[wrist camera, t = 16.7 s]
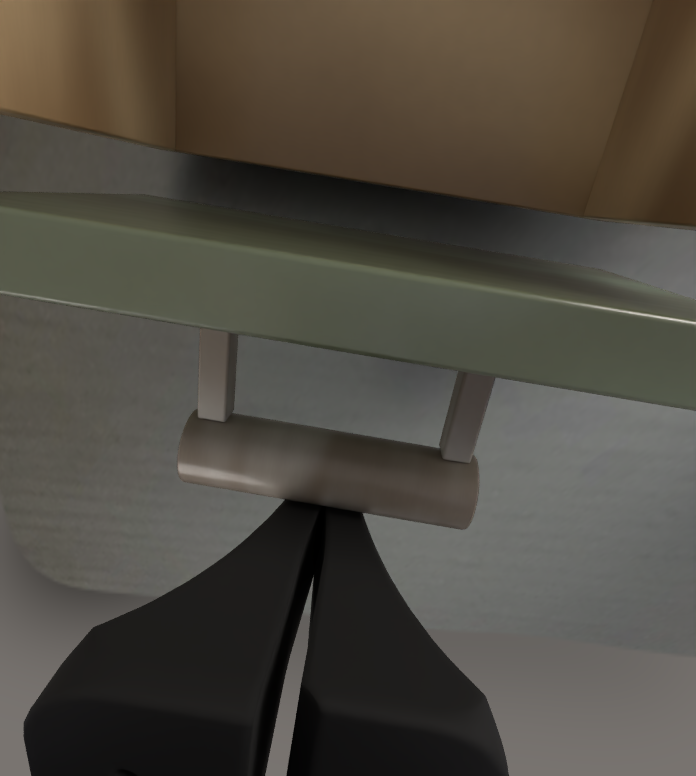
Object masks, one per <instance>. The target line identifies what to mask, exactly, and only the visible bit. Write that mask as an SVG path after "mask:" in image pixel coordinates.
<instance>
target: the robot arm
mask: <svg viewBox="0 0 696 776" xmlns="http://www.w3.org/2000/svg"><path fill="white" fill-rule="evenodd" d="M313 576H314V580H313V591H312V603H311V615H310V627H309V639H308V649H307V655H306V660H305V666H304V672H303V677H302V682H301V688H300V695H299V701H298V707H297V713H296V720H295V726H294V732H293V738H292V744H291V751H290V757H289V763H288V770H287V776H509V774H508V766H507V762H506V756H505V752H504V749H503V745H502V742H501V738H500V735H499V732H498V729H497V726H496V723H495V720H494V718H493V715H492V712H491V709H490V707H489V704H488V701H487V699H486V697H485V695H484V694H483V693H482V692H481V691H480V690H479V689H478V688H477V687H476V686H475V685H474V684H473V683H472V682H471V681H470V680H469V679H468V678H467V677H466V676H465V675H464V674H463V673H462V672H461V671H460V670H459V669H458V668H457V667H456V666H455V664H454V663H453V662H452V661H451V660H450V659H449V658H448V657H447V656H446V655H445V654H444V652H443V651H442V650H441V649H440V648H439V647H438V645H437V644H436V643H435V642H434V641H433V639H432V638H431V637H430V635H429V634H428V633H427V631H426V630H425V629H424V627H423V626H422V625H421V623H420V622H419V621H418V619H417V618H416V617H415V615H414V614H413V613H412V611H411V610H410V608H409V607H408V605H407V604H406V602H405V601H404V599H403V597H402V596H401V594H400V593H399V591H398V589H397V588H396V586H395V584H394V583H393V581H392V579H391V577H390V576H389V574H388V572H387V570H386V568H385V566H384V564H383V562H382V560H381V558H380V556H379V554H378V552H377V550H376V547H375V545H374V543H373V540H372V538H371V535H370V533H369V530H368V527H367V525H366V522H365V519H364V516H363V513H362V512H356V511H350V510H344V509H339V508H333V507H327V506H321V505H315V504H309V503H304V502H298V501H292V500H286V499H285V500H284V502H283V503H282V504H281V505H280V506H279V507H278V508H277V509H276V510H275V511H274V513H273V514H272V515H271V516H270V517H269V518H268V519H267V520H266V521H265V522H264V523H263V524H262V525H261V526H259V527H258V528H257V529H256V530H255V531H254V532H253V533H252V534H251V535H250V536H249V537H248V538H247V539H245V540H244V541H243V542H242V543H241V544H240V545H238V546H237V547H236V548H235V549H233V550H232V551H231V552H230V553H228V554H227V555H226V556H224V557H223V558H222V559H220V560H219V561H218V562H216V563H215V564H213V565H212V566H210V567H209V568H207V569H206V570H205V571H203V572H202V573H200V574H199V575H197V576H196V577H194V578H192V579H191V580H189V581H188V582H186V583H184V584H183V585H181V586H179V587H177V588H175V589H174V590H172V591H170V592H168V593H166V594H165V595H163V596H161V597H159V598H157V599H156V600H154V601H152V602H150V603H148V604H146V605H144V606H142V607H139V608H137V609H135V610H133V611H130V612H128V613H126V614H124V615H121V616H119V617H117V618H114V619H112V620H110V621H108V622H105V623H103V624H101V625H98V626H95V627H93V629H91V631H90V632H89V633H88V634H87V635H86V636H85V638H84V639H83V640H82V641H81V642H80V643H79V645H78V646H77V647H76V648H75V649H74V650H73V651H72V653H71V654H70V655H69V656H68V657H67V658H66V660H65V661H64V662H63V663H62V665H61V666H60V667H59V669H58V670H57V672H56V673H55V675H54V676H53V677H52V679H51V680H50V682H49V683H48V685H47V686H46V688H45V689H44V690H43V692H42V693H41V695H40V696H39V697H38V699H37V700H36V702H35V703H34V705H33V706H32V707H31V709H30V711H29V713H28V715H27V717H26V719H25V721H24V741H25V746H26V751H27V756H28V761H29V766H30V771H31V776H265V773H266V768H267V763H268V757H269V753H270V748H271V743H272V738H273V733H274V728H275V723H276V718H277V713H278V708H279V703H280V698H281V693H282V688H283V684H284V679H285V674H286V670H287V666H288V662H289V658H290V654H291V651H292V647H293V644H294V640H295V637H296V634H297V630H298V627H299V624H300V620H301V617H302V613H303V610H304V607H305V603H306V600H307V596H308V593H309V590H310V586H311V583H312V579H313Z"/></svg>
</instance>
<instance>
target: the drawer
mask: <svg viewBox="0 0 696 776" xmlns="http://www.w3.org/2000/svg"><path fill="white" fill-rule="evenodd" d="M0 114H2V115H6V116H11V117H15V118H20V119H24V120H29V121H33V122H38V123H42V124H47V125H51V126H56V127H60V128H65V129H70V130H74V131H79V132H83V133H88V134H92V135H97V136H101V137H106V138H110V139H115V140H119V141H124V142H128V143H133V144H137V145H142V146H146V147H151V148H155V149H160V150H166V151H173V152H179V153H185V154H191V155H197V156H203V157H209V158H216V159H222V160H228V161H234V162H240V163H246V164H253V165H259V166H265V167H271V168H277V169H283V170H289V171H296V172H302V173H308V174H314V175H320V176H326V177H333V178H339V179H345V180H351V181H357V182H363V183H370V184H376V185H382V186H388V187H394V188H400V189H406V190H413V191H419V192H425V193H431V194H437V195H443V196H450V197H456V198H462V199H468V200H474V201H480V202H486V203H493V204H499V205H505V206H511V207H517V208H523V209H530V210H536V211H542V212H548V213H554V214H560V215H567V216H573V217H579V218H585V219H591V220H597V221H605V222H615V223H625V224H635V225H645V226H655V227H665V228H675V229H685V230H695V231H696V0H0ZM0 294H1V295H7V296H13V297H19V298H25V299H31V300H37V301H42V302H48V303H54V304H60V305H66V306H72V307H78V308H84V309H90V310H96V311H102V312H108V313H114V314H120V315H126V316H132V317H138V318H144V319H150V320H156V321H162V322H168V323H174V324H180V325H186V326H192V327H198V328H200V344H199V382H198V409H196V410H194V411H193V413H192V414H191V415H190V417H189V419H188V420H187V423H186V425H185V427H184V430H183V433H182V436H181V439H180V444H179V449H178V457H177V469H178V475H179V478H180V479H181V480H182V481H183V482H187V483H193V484H199V485H205V486H211V487H216V488H222V489H228V490H234V491H240V492H245V493H251V494H257V495H263V496H269V497H275V498H280V499H286V500H292V501H298V502H304V503H309V504H315V505H321V506H327V507H333V508H339V509H344V510H350V511H356V512H362V513H368V514H373V515H379V516H385V517H391V518H397V519H403V520H408V521H414V522H420V523H426V524H432V525H437V526H443V527H449V528H455V529H461V530H463V529H466V528H467V527H468V526H469V525H470V523H471V521H472V519H473V516H474V513H475V510H476V505H477V500H478V493H479V467H478V462H477V459H476V457H475V456H474V455H473V452H474V449H475V446H476V442H477V439H478V435H479V432H480V429H481V425H482V422H483V418H484V415H485V412H486V408H487V405H488V401H489V398H490V395H491V391H492V388H493V384H494V381H495V378H502V379H508V380H514V381H520V382H526V383H532V384H538V385H544V386H550V387H556V388H562V389H568V390H574V391H580V392H586V393H592V394H598V395H604V396H610V397H616V398H622V399H628V400H634V401H640V402H646V403H652V404H658V405H664V406H670V407H676V408H682V409H688V410H694V411H696V300H694V299H691V298H688V297H685V296H682V295H678V294H675V293H672V292H669V291H666V290H663V289H660V288H657V287H654V286H651V285H648V284H645V283H642V282H638V281H635V280H632V279H629V278H626V277H623V276H620V275H617V274H614V273H611V272H608V271H605V270H601V269H597V268H591V267H584V266H578V265H572V264H566V263H560V262H554V261H548V260H542V259H536V258H530V257H523V256H517V255H511V254H505V253H499V252H493V251H487V250H481V249H475V248H468V247H462V246H456V245H450V244H444V243H438V242H432V241H426V240H420V239H414V238H407V237H401V236H395V235H389V234H383V233H377V232H371V231H365V230H359V229H352V228H346V227H340V226H334V225H328V224H322V223H316V222H310V221H304V220H298V219H291V218H285V217H279V216H273V215H267V214H261V213H255V212H249V211H243V210H236V209H230V208H224V207H218V206H212V205H206V204H200V203H194V202H188V201H182V200H175V199H169V198H163V197H157V196H151V195H145V194H96V193H48V192H0ZM238 334H240V335H246V336H252V337H258V338H264V339H269V340H275V341H281V342H287V343H293V344H299V345H305V346H311V347H317V348H323V349H329V350H335V351H341V352H347V353H353V354H359V355H365V356H371V357H377V358H383V359H389V360H395V361H401V362H407V363H413V364H419V365H425V366H431V367H437V368H443V369H449V370H455V371H458V374H457V378H456V382H455V385H454V389H453V393H452V397H451V401H450V405H449V409H448V412H447V416H446V420H445V424H444V428H443V432H442V436H441V439H440V443H439V446H440V448H435V447H429V446H423V445H417V444H412V443H406V442H400V441H394V440H388V439H382V438H376V437H370V436H364V435H358V434H353V433H347V432H341V431H335V430H329V429H323V428H317V427H311V426H305V425H300V424H294V423H288V422H282V421H276V420H270V419H264V418H258V417H252V416H247V415H241V414H235V413H232V412H233V410H234V398H235V381H236V365H237V348H238Z"/></svg>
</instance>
